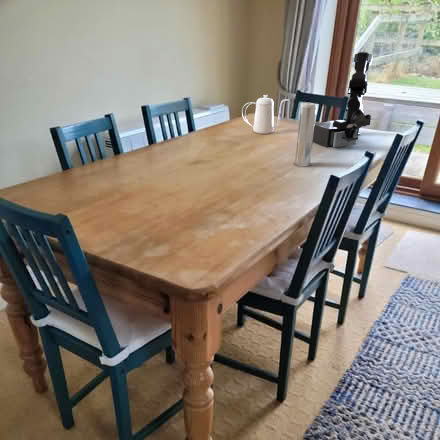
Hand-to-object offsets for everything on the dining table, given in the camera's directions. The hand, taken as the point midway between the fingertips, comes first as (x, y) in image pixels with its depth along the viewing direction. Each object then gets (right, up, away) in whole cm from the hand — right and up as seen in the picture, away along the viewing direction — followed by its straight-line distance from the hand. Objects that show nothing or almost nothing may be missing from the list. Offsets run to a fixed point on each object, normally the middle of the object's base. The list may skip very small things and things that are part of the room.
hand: (348, 141), depth 219 cm
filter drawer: (-3, +1, +6) cm, 6 cm away
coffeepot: (-38, +15, +29) cm, 50 cm away
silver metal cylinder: (-26, -17, -20) cm, 37 cm away
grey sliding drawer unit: (-6, +4, +12) cm, 14 cm away
